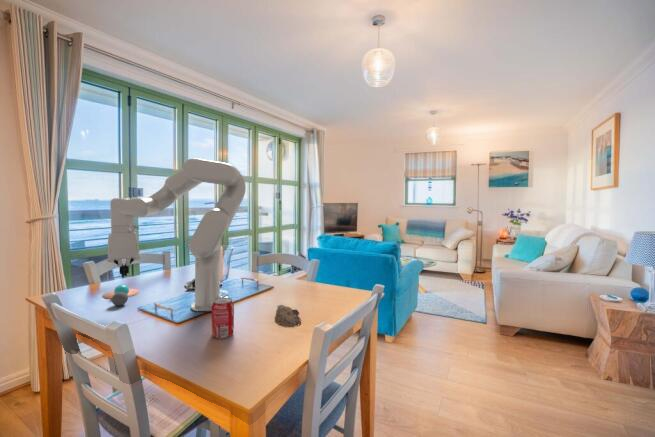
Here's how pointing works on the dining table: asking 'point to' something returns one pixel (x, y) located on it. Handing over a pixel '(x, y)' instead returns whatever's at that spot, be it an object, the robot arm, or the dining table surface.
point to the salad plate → (191, 285)
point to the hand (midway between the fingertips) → (124, 275)
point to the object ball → (121, 289)
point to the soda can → (222, 317)
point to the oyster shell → (287, 316)
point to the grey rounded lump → (119, 298)
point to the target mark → (111, 294)
